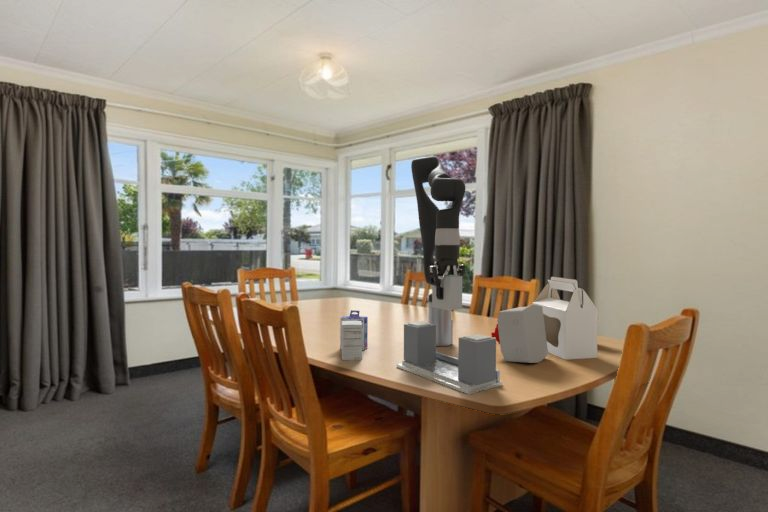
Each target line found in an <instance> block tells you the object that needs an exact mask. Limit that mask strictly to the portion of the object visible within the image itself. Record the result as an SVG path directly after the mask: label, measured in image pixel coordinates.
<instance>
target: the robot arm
mask: <svg viewBox="0 0 768 512" xmlns="http://www.w3.org/2000/svg"><path fill="white" fill-rule="evenodd" d="M410 166H411V174H412V180H413V181H412V182H413V186H414V187H413V188H414V190H415V196H416V197H415V198H416V204H417V214H418V222H419V223H418V224H419V232H420V237H421V243H422V244H421V245H422V251H423V252H422V253H423V273H424V274H423V275H424V280H425V281H426V284H428V285H431V286H432V285H434V286H436V297H437V299H439V300H443V291H444V288H443V285H444V280H445V276H447V275H452V274H454V275H458V276H462V283H463V282H464V281H463V280H464V277H465V270H466V265H465V264H460V263H459V262H458V261H459V260H460V254H461V253H460V252H461V251H460V249H461V247H460V246H461V244H460V243H461V241H460V240H461V239H460V238H461V237H460V236H461V235H460V214H461V213H460V212H461V207H462V204H463V200H464V197H465V196H466V195H465V194H466V184H465V182H464V180H462V179H461V178H456V177H455V178H453V177H451V175H449V174H448V173H447V172H446V169H445V166H444V164H443V163H442V160H441V159H440V157H438V156H435V155H432V156H424V157H419V158H418V157H417V158H415V159H412V161H411V165H410ZM426 183H428V186H429V187H430V196H431V198H432V199H433V200H434V201H436V202H451V205H450V207H448V208H442V209H440V208H439V207H438V206H437V204H435V202H434V201H433V200H431V198H430V196H429V195H428V194H427V192H426V190H425V187H424V184H426ZM434 259H436V261H435V260H434ZM439 276H442V277H439ZM439 280H441V281H440V283H439ZM427 303H428V304H427V307H428V309H427V311H428V313H427V315H428V316H427V323H432V324H434V325H436V347H446V346H447V347H448V346H450V345H452V344H453V343H454V341H453V340H454V339H453V338H454V337H453V336H454V333H453V332H454V331H453V330H454V329H453V328H454V325H453V324H454V321H453V319H452V310H445V309H440V308H434V307H432V292H431V293H429V294H428V298H427Z"/></svg>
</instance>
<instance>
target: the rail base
mask: <svg viewBox="0 0 768 512" xmlns="http://www.w3.org/2000/svg"><path fill="white" fill-rule="evenodd" d="M397 367H398V368H397ZM396 368H397V369H399V370H402V369H403V371H405V370H406V371H405V372H408V371H409V372H408V373H410V372H412V373H411V374H413V373H414V374H413V375H415V374H417V375H416V376H418V375H420V376H419V377H421V376H423V377H425V378H424V379H426V378H428V379H427V380H429V379H430V380H429V381H431V380H433V381H432V382H434V381H436V382H438V383H437V384H439V383H440V384H439V385H442V384H443V385H442V386H444V385H445V387H447V386H448V387H447V388H450V389H452V388H453V390H455V389H456V390H455V391H457V390H458V392H460V391H461V392H460V393H463V392H464V393H463V394H465V393H466V394H465V395H468V394H471V395H473V393H474V394H477V393H480V392H479V391H481V392H483V391H482V390H484V391H486V390H491V389H493V388H498V387H500V386H503V381H501V379H500V378H501V376H500V375H501V372H500V370H499V369H496V380H495V381H491V382H488V383H484V384H480V385H477V386H476V385H474V384H471V383H468V382H465V381H462V380H459V379H458V357H455V356H452V355H449V354H445V353H442V352H439V351H436V361H432V362H428V363H423V364H418V365H417V364H414V363H411V362H408V361H405V360H402V361H401V363H397V364H396ZM423 377H422V378H423ZM436 382H435V383H436ZM490 388H491V389H490ZM476 392H477V393H476Z"/></svg>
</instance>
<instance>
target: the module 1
mask: <svg viewBox="0 0 768 512" xmlns="http://www.w3.org/2000/svg"><path fill="white" fill-rule="evenodd" d="M436 352H437V346H436V325H434V324H432V323H428V321H427V322H426V321H414V322H408V323H404V324H403V361H408V362H411V363H414V364H417V365H418V364H423V363H428V362H432V361H436Z"/></svg>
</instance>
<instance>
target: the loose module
mask: <svg viewBox="0 0 768 512" xmlns="http://www.w3.org/2000/svg"><path fill="white" fill-rule="evenodd" d="M439 277H442V276H439ZM440 281H441V280H439V283H440ZM443 288H444V291H443V300H439V299H437V297H436V286H434V285H431V293H432V307H434V308H440V309H445V310H451V311H458V310H463V282H462V276H458V275H454V274H452V275H447V276H445V280H444V285H443Z"/></svg>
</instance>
